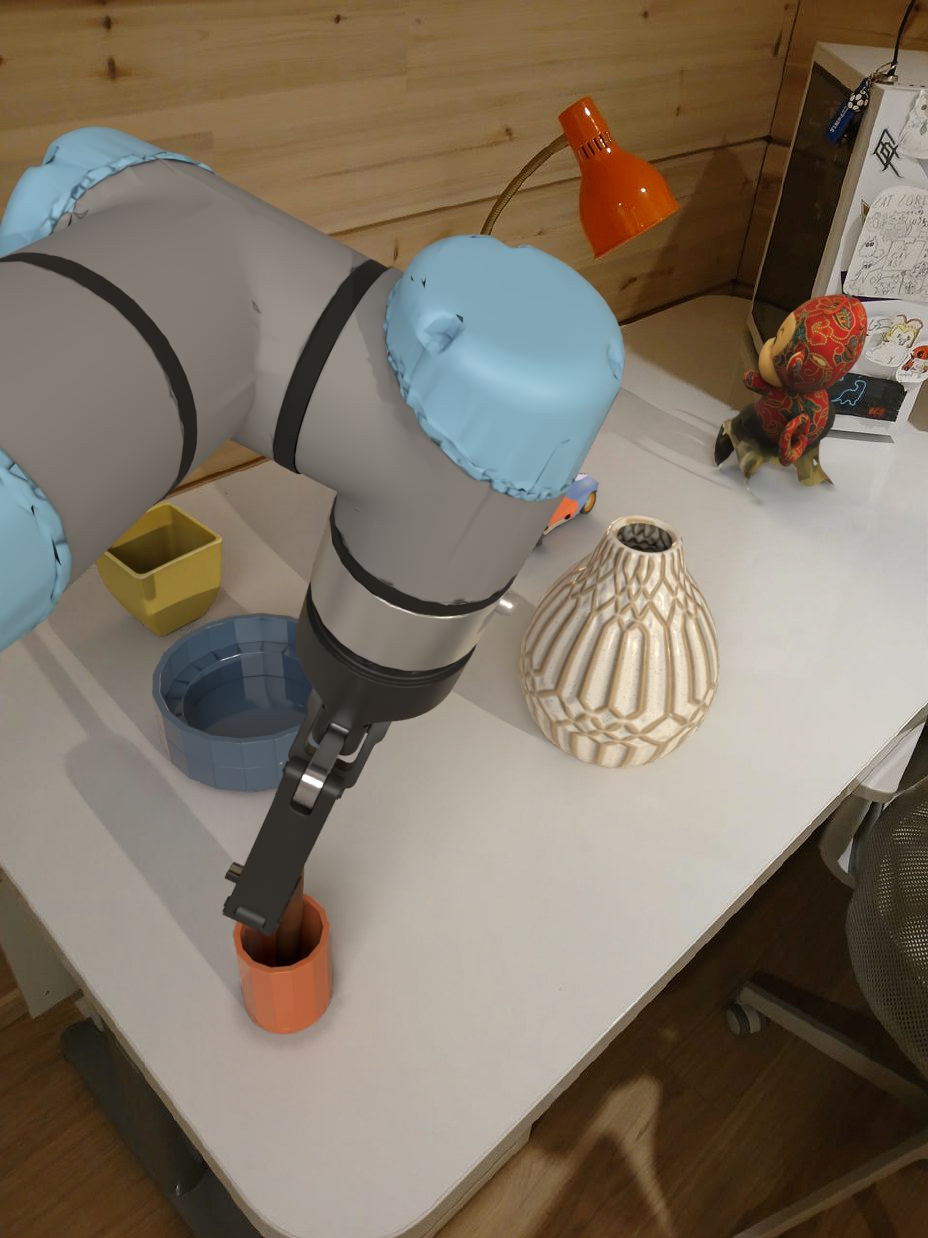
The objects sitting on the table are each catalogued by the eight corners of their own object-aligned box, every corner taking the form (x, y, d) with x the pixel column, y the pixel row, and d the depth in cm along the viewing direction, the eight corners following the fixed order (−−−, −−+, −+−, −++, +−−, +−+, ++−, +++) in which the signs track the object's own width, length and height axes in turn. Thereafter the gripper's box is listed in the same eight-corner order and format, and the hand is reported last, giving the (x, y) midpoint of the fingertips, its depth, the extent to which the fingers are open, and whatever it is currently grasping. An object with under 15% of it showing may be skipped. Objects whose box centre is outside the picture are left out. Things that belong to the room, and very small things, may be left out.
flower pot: (153, 659, 86) (138, 578, 80) (100, 614, 90) (81, 534, 85) (234, 616, 91) (224, 537, 85) (180, 576, 95) (167, 498, 90)
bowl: (135, 785, 74) (122, 731, 71) (196, 657, 86) (187, 605, 83) (329, 806, 74) (327, 753, 70) (363, 675, 86) (363, 622, 82)
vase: (641, 652, 90) (684, 465, 78) (734, 774, 79) (802, 579, 66) (484, 686, 85) (502, 492, 73) (558, 821, 74) (595, 619, 61)
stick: (272, 995, 61) (275, 794, 53) (278, 975, 62) (282, 777, 55) (297, 999, 61) (303, 798, 53) (302, 979, 62) (309, 780, 55)
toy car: (465, 532, 104) (468, 490, 101) (543, 480, 114) (547, 440, 111) (526, 561, 101) (531, 518, 97) (600, 505, 110) (607, 464, 107)
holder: (233, 1029, 60) (221, 967, 55) (256, 948, 64) (248, 885, 60) (322, 1040, 60) (317, 979, 55) (339, 957, 64) (337, 894, 60)
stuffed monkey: (838, 447, 121) (917, 271, 101) (823, 541, 112) (906, 368, 92) (720, 419, 124) (774, 242, 104) (695, 509, 114) (749, 333, 94)
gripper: (366, 908, 32) (272, 1047, 49) (555, 462, 48) (436, 680, 64) (162, 813, 32) (137, 985, 48) (419, 396, 48) (335, 631, 64)
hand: (308, 811), depth 56 cm, fingers open, 13 cm apart
